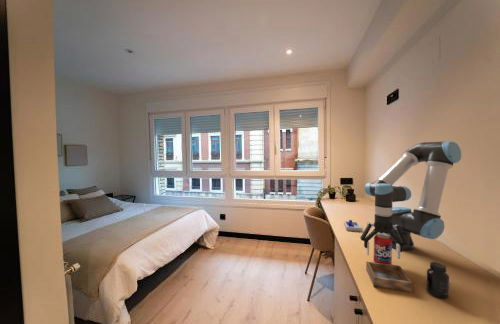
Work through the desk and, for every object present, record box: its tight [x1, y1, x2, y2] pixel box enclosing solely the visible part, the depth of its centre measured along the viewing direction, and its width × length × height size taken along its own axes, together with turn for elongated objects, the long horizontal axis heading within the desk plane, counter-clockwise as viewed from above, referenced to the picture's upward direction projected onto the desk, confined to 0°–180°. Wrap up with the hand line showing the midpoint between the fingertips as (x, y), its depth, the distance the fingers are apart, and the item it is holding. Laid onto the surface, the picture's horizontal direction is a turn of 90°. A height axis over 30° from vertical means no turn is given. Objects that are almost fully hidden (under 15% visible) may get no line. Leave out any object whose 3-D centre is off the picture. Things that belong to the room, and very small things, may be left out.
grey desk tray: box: [343, 220, 363, 233], centre depth 161 cm, size 10×14×3 cm
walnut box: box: [365, 261, 414, 294], centre depth 95 cm, size 14×14×4 cm
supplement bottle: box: [425, 261, 450, 300], centre depth 85 cm, size 7×7×12 cm
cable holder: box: [348, 219, 354, 227], centre depth 162 cm, size 8×4×4 cm, turn 152°
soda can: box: [373, 232, 393, 265], centre depth 108 cm, size 8×8×15 cm
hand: (382, 255), depth 109 cm, fingers open, 13 cm apart
